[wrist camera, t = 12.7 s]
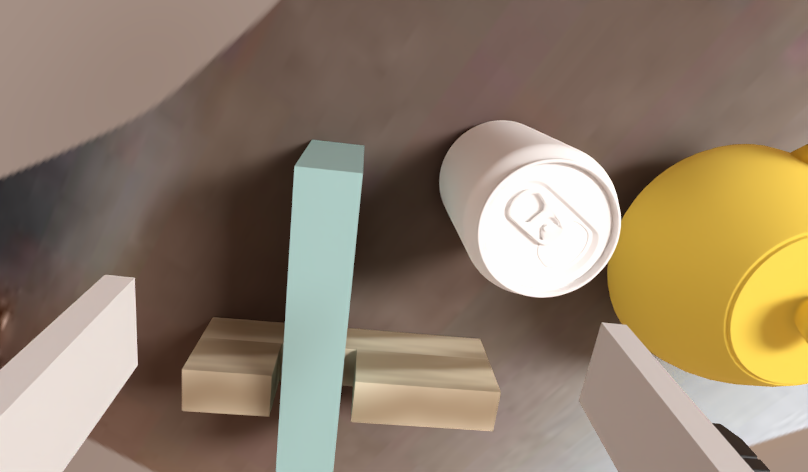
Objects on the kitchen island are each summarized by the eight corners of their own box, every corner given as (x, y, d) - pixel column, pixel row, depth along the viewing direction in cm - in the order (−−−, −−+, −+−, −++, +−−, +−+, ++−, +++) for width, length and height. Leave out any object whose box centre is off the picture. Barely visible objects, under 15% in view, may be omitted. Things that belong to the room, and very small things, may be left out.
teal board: (311, 139, 36) (294, 166, 28) (364, 145, 37) (362, 173, 28) (294, 396, 43) (275, 482, 34) (339, 399, 43) (331, 484, 34)
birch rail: (212, 316, 40) (181, 369, 33) (480, 338, 42) (500, 392, 35) (212, 353, 41) (182, 410, 34) (473, 372, 43) (492, 431, 36)
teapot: (698, 34, 36) (886, 24, 23) (875, 134, 39) (1130, 175, 26) (548, 291, 41) (631, 401, 28) (713, 362, 44) (858, 491, 31)
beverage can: (488, 255, 40) (535, 336, 28) (413, 175, 38) (433, 228, 26) (576, 180, 38) (662, 234, 27) (504, 93, 36) (565, 111, 25)
